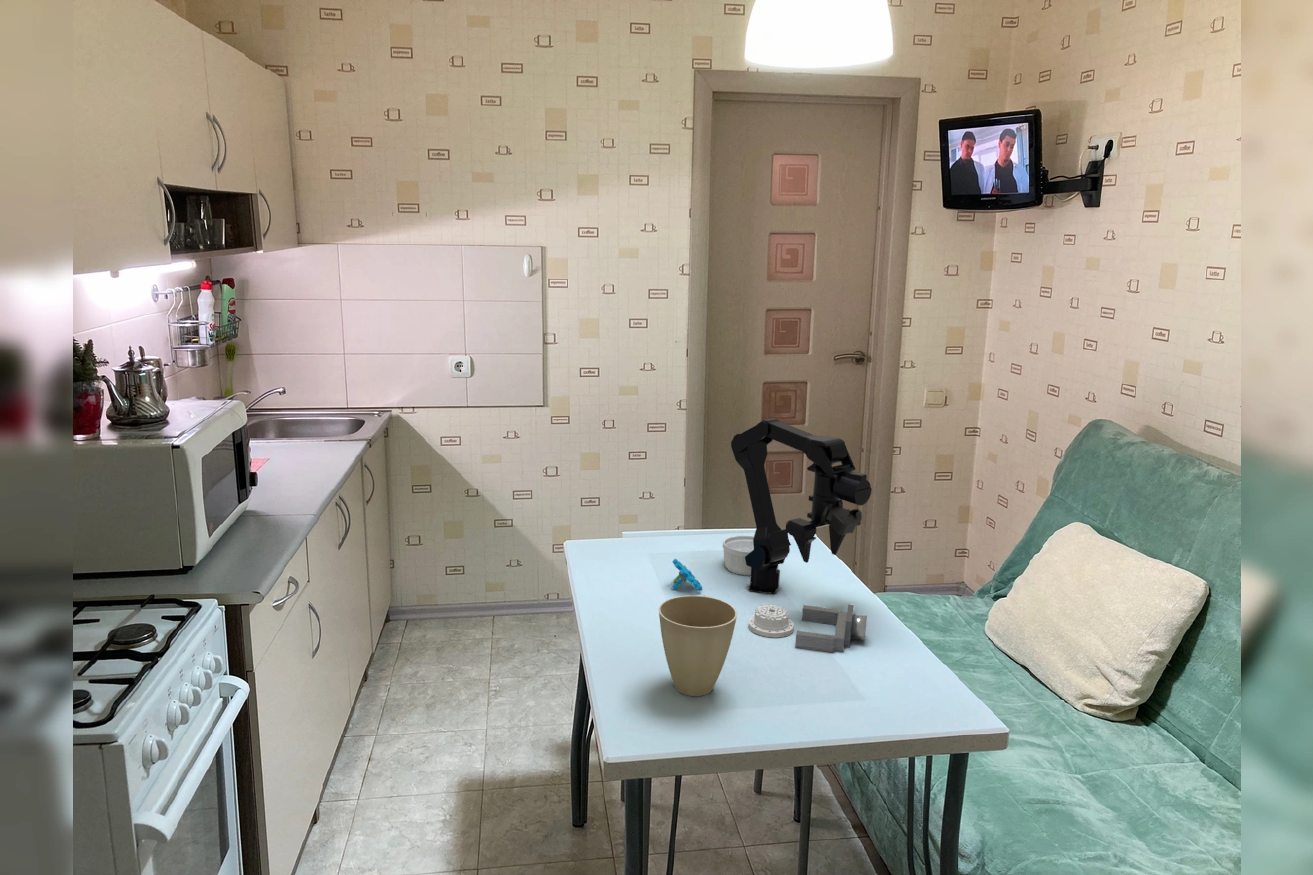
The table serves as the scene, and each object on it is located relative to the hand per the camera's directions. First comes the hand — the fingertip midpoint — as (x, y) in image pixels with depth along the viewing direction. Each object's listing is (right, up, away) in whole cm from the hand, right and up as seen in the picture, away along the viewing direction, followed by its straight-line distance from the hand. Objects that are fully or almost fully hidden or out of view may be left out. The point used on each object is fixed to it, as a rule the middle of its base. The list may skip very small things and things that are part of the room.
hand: (820, 558), depth 210 cm
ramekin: (-14, -7, +28) cm, 32 cm away
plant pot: (-30, -21, -33) cm, 49 cm away
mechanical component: (-12, -15, -6) cm, 20 cm away
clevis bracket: (+1, -16, -9) cm, 18 cm away
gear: (-30, -9, +14) cm, 35 cm away
